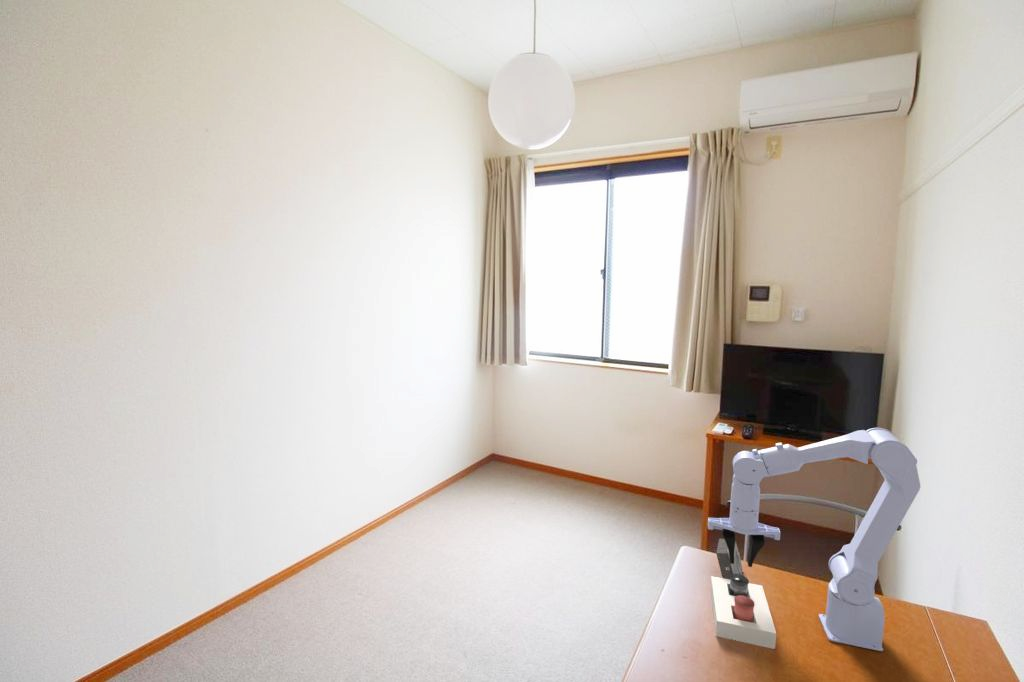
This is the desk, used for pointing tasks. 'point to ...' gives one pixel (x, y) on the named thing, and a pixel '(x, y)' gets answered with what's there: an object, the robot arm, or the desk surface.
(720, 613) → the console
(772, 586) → the desk surface
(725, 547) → the electrical switch
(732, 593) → the graphite plug
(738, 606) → the red plug
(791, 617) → the desk surface
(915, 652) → the desk surface
